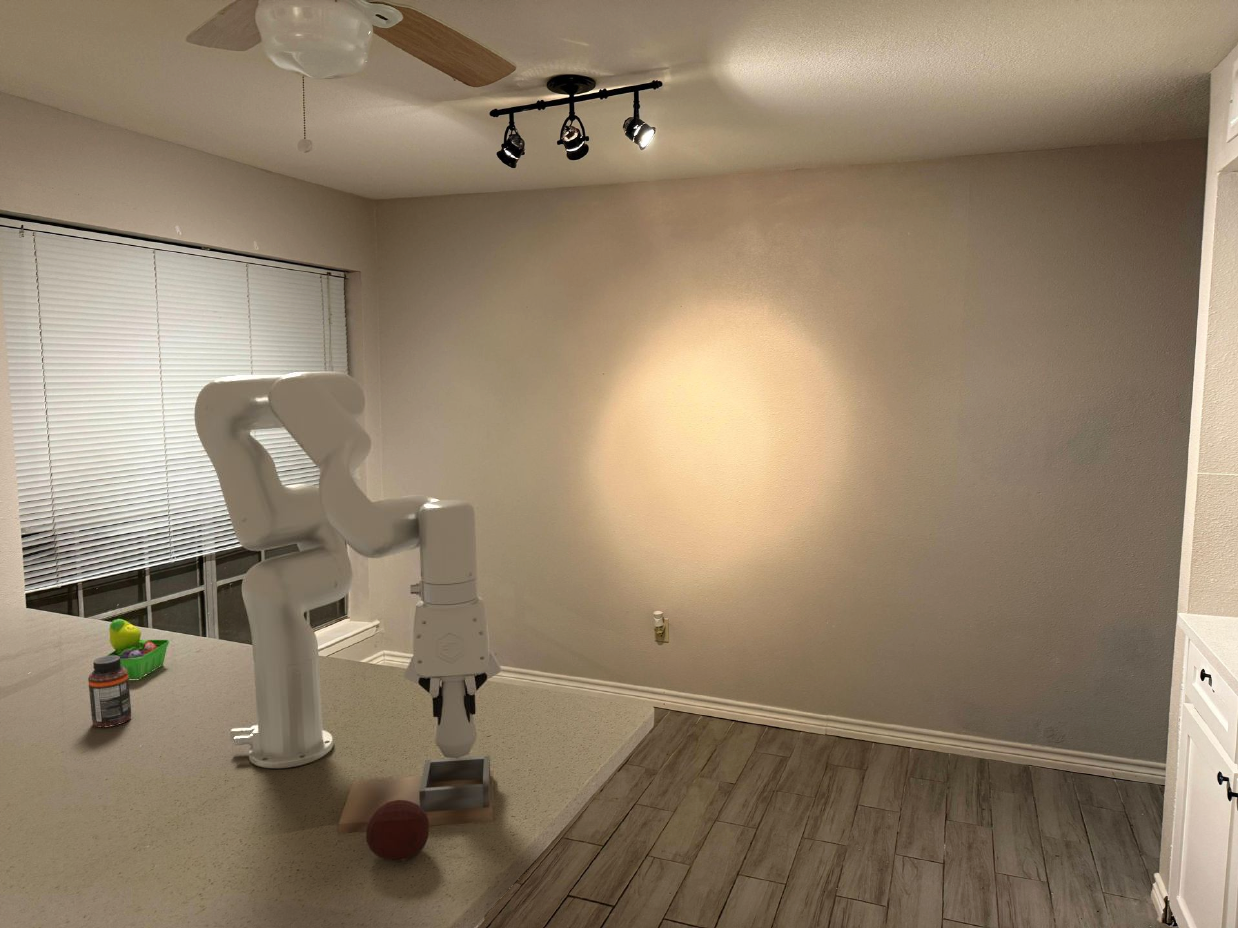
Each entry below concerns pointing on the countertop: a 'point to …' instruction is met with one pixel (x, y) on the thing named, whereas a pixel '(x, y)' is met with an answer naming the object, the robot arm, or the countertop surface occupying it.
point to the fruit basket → (135, 649)
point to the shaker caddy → (427, 793)
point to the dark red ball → (397, 830)
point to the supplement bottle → (109, 692)
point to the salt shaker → (454, 720)
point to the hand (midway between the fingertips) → (454, 719)
